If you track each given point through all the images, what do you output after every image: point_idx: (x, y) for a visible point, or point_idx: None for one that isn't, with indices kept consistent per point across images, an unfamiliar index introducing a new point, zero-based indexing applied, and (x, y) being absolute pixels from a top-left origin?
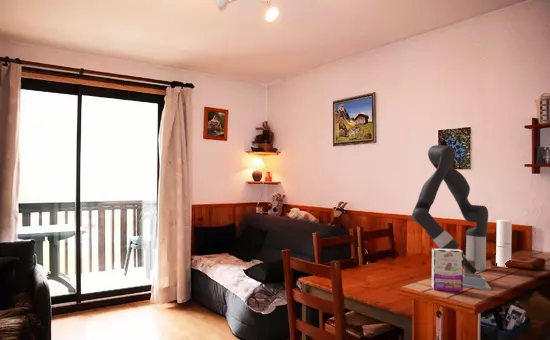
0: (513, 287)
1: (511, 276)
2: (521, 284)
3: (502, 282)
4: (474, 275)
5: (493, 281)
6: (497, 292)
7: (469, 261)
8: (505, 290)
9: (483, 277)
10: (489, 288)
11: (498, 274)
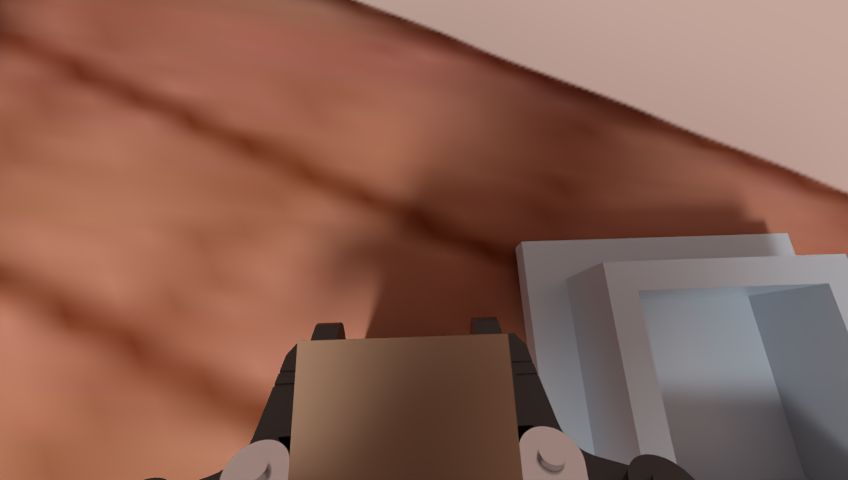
0: (514, 68)
1: (69, 16)
2: (366, 5)
3: (367, 112)
4: (644, 359)
5: (365, 173)
6: (795, 197)
7: (494, 470)
8: (669, 133)
9: (764, 265)
10: (783, 244)
11: (8, 94)
